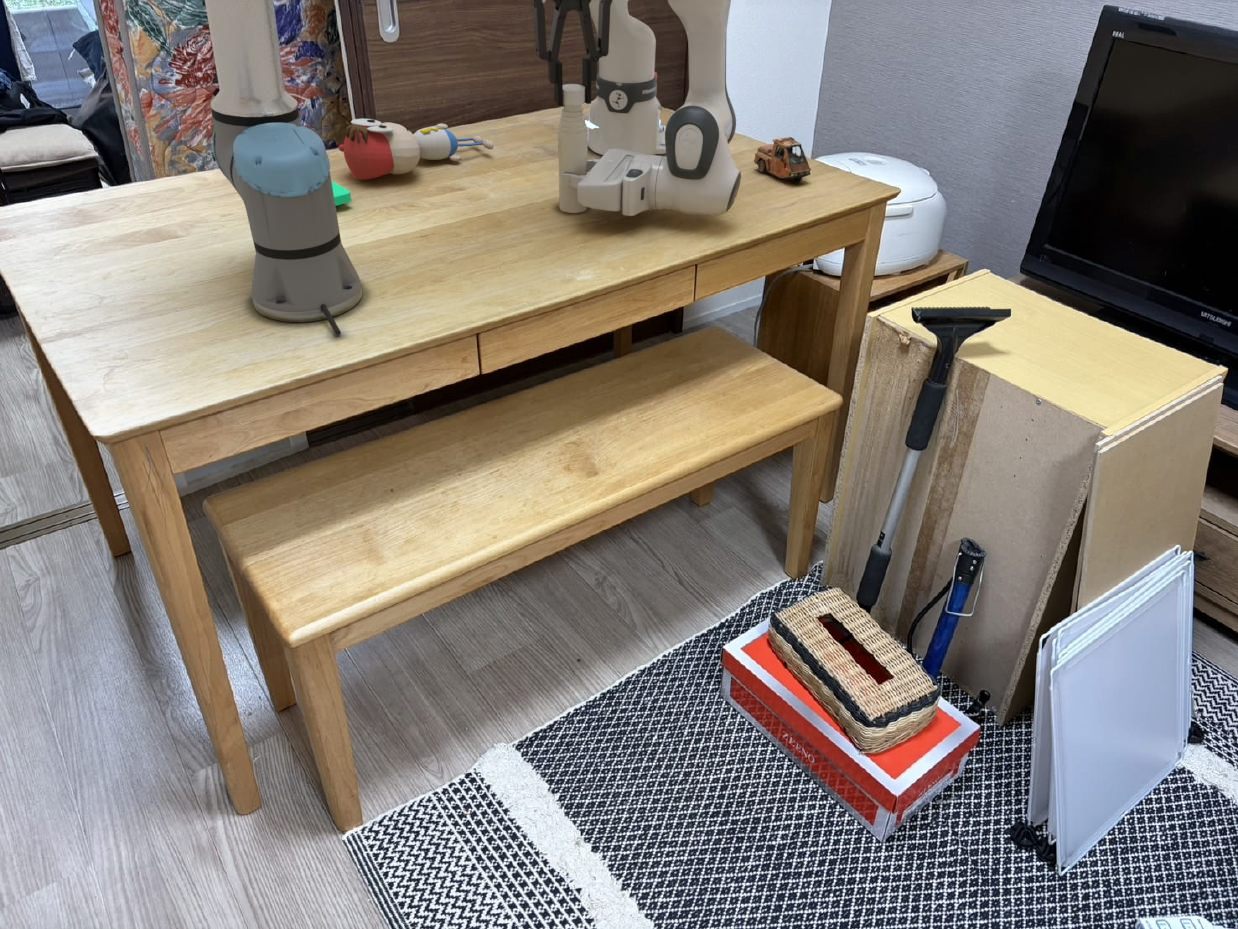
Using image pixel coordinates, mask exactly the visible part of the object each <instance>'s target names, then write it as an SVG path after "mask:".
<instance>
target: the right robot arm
mask: <svg viewBox="0 0 1238 929" xmlns="http://www.w3.org/2000/svg"><path fill="white" fill-rule="evenodd" d="M599 1H600V0H591V2H590V4H589V7H590V12H591V20H592V22H593V24H594V28H595V31H596V36H597V37H596V38H598V16H599ZM629 1H630V0H613V1H612V3H611V6H610V30H609V53H608V55H607V56H603V57H601V58H599V61H598V73H597V79H596V81H595V87H596V90H595V92H596V95H597V96H596V97H595V99H593V100H591V104H589V109H588V120H586V124H587V148H589V149H591V150H592V151H593V152H594V153H595V154H599V155H602V156H601V157H600V159H597V158H594V159H587V174H586V176H584V175H581V176H577V175H574V173H573V172H564V173H563V174H562V176H561V183H562V184H563V185H571V186H572V187H574V188H576V189H577V200H578V203H579V204H581V205H583V206H585V207H587V208H589V209H595V210H599V211H605V212H606V211H607V212H620V211H621V214H622V216H626V217H634V216H636V215H637V214H639V213H640V214H641V213H643V212H644V211H649V210H656V211H664V210H673V211H676V212H678V213H681V214H687V215H696V216H697V215H698V216H720V215H725V213H727V212H728V211H729V210H730V209H731V207H732V206H733V205H734V202H735V200H736V197H737V195H738V191H739V189H740V185H741V179H742V172H741V171H740V169H739V168H738V166H737V165H736V162H735V160H734V158H733V156H732V153H731V149H730V146H729V144H730V143H731V142H732V140H733V138H734V135H735V133H736V129H737V118H736V113H735V109H734V107H733V104H732V102H731V98H730V96H729V93H728V88H727V30H728V24H729V18H730V17H729V16H730V10H731V5H732V0H667V3H668V5H669V6H670V8H671V9H672V11H673V12H674V13H675V14H676V16H677V17H678V18H679V20H680V21H681V23H682V25H683V27H684V30H685V33H686V36H687V37H686V38H687V43H688V44H687V45H688V46H687V47H688V49H687V50H688V91H687V96H686V98H685V101H684V103H683V105H682V106H680V107H679V108H677V109H676V110H675V111H674V112H673V113H672V114H671V115H670V117H669V119H668V120H667V122H666V125H664V124H662V120H663V105H661V103H660V101H659V99H658V97H657V93H658V91H657V89H658V83H657V80H658V73H657V71H655V68H656V48H657V47H656V46H657V40H656V36H655V33H654V31H653V30H652V29H651V28H650V26H649V25H648V24H646V23H644V22H642V21H641V20H640V19H638V18H636V17H633V15H630V13H629V9H628V8H629V7H628V5H629V4H628V3H629ZM663 155H665V156H663Z"/></svg>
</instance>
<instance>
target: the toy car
mask: <svg viewBox="0 0 1238 929" xmlns="http://www.w3.org/2000/svg"><path fill="white" fill-rule="evenodd" d="M771 141H772V143H771V144H765V145H761V146H759V147H758V148H757V151H756V152H755V153H754V159H753V163H754V164H755V165H756V166H757V168H758V171H759V173H766V174H769V175H772V176H774V177H776V178H778V179H780V180H784V181H788V180H791V179H792V182H794V183H795V184H800V183H801V182H802V180H803V178H805V177H808V176H810V175H811V171H812V168H811V167H810V164H809V162H808V160H807V159H808V158H807V157H806V154H805V152H804V151H805V150H804V149H803V147H802V144H801V143H800V142H799V141H797V140H795V138H794V137H792V136H786V137H779V138H773V139H772V140H771ZM797 147H798V148H799V149H800V155H798V154H797V149H795V150H794V148H797ZM793 151H795V152H793Z"/></svg>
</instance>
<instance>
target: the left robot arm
mask: <svg viewBox="0 0 1238 929" xmlns="http://www.w3.org/2000/svg"><path fill="white" fill-rule="evenodd" d="M530 1H531V3H532V6H533V21H534V36H535V37H534V39H535V40H534V41H535V42H534V43H535V54H536V56H537V57H538V58H539V59H541V60H543V61H547V80H548V81H549V83H550V84H552V85H553V89H554V90H553V95H554V96H553V99H554V100H553V101H554V103H555V104H556V105H557V106H558V107H560V106H564V104H563V85H564V83H563V63H562V62H561V60H559V56H560V49H561V44H562V39H563V33H564V28H565V22H566V19H567V16H568V12H571V11H576V12H577V14H578V16H579V21H580V26H581V32H582V36H583V42H584V47H585V52H586V56H587V57H582V60H581V62H582V64H581V65H582V66H581V68H582V69H581V70H582V71H581V72H582V73H581V74H582V76H581V77H582V78H581V80H582V82H581V83H582V84H581V85H582V86H584V87H585V103H584V104H586V105H590V104H591V103H592V82H596V81H597V75H598V63H599V58H601V57H603V56H607V55H608V53H609V30H610V6H611V3H612V1H613V0H600V1H599V16H598V37H597V43H596V39H595V34H594V28H593V23H592V22H593V21H592V17H591V12H590V7H589V4H590V2H591V0H552V2H553V3H554V7H553V19H552V24H551V30H550V35H549V42H548V47H547V31H546V30H547V29H546V28H547V26H546V11H545V5H544V4H545V3H546V2H547V0H530ZM204 4H205V9H206V15H207V22H208V28H209V34H210V39H211V46H212V51H213V52H212V53H213V58H214V64H215V70H216V75H217V82H218V88H219V91H218V92H217V94H216V95H215V96H214V97H213V98H212V100H211V101H210V110H211V115H212V121H213V132H212V138H211V139H212V140H211V141H212V144H211V146H212V152H213V155H214V160H215V162H216V164H217V166H218V169H219V171H220V172H221V173H222V175H223V176H224V177H225V178H226V179H227V181H229V183H230V184H231V185H232V187H233V188H234V190H235V191H236V192H237V194H238V195H239V197H240V198H241V200H242V202H243V204H244V207H245V211H246V215H247V219H248V220H247V221H248V224H249V229H250V234H251V237H252V238H251V239H252V242H253V247H254V251H255V258H254V264H253V273H252V283H251V299H252V303H253V307H254V309H255V310H256V311H257V313H259V314H260V315H262V316H264V317H266V318H268V319H271V320H275V321H281V322H289V323H304V322H314V321H315V322H316V321H320V320H327V322H328V324H329V326H330V327H331V329H332V330H333V332H334V335H335V336H340V335H341V334H342V331H341V330H340V328H339V326H338V324H337V323H336V321H335V319H334V317H336V316H338V315H341V314H343V313H345V312H348V311H349V310H351V309H353V308H354V307H355V306H356V305H357V304H358V303H359V302H360V301H361V298H362V297H363V287H362V282H361V279H360V276H359V274H358V272H357V270H356V268H355V266H354V264H353V263H352V261H351V259H350V257H349V255H348V253H347V251H346V250H345V248H344V245H343V243H342V239H341V233H340V225H339V220H338V214H337V207H336V206H335V200H334V194H333V188H332V182H331V181H332V177H331V162H330V158H329V155H328V153H327V150H326V146H325V142H324V141H323V139H322V138H321V136H320V135H318V133H317V132H315V131H313V130H312V129H311V128H308V127H306V126H304V125H301V124H302V123H301V118H300V109H299V102H298V101H297V99H296V98H294V97H293V96H292V95H291V94H289V93H288V91H287V90H286V88H285V80H284V73H283V72H284V71H283V64H282V57H281V56H282V55H281V49H280V41H279V32H278V25H277V17H276V9H275V1H274V0H204ZM596 44H597V45H596Z"/></svg>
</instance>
